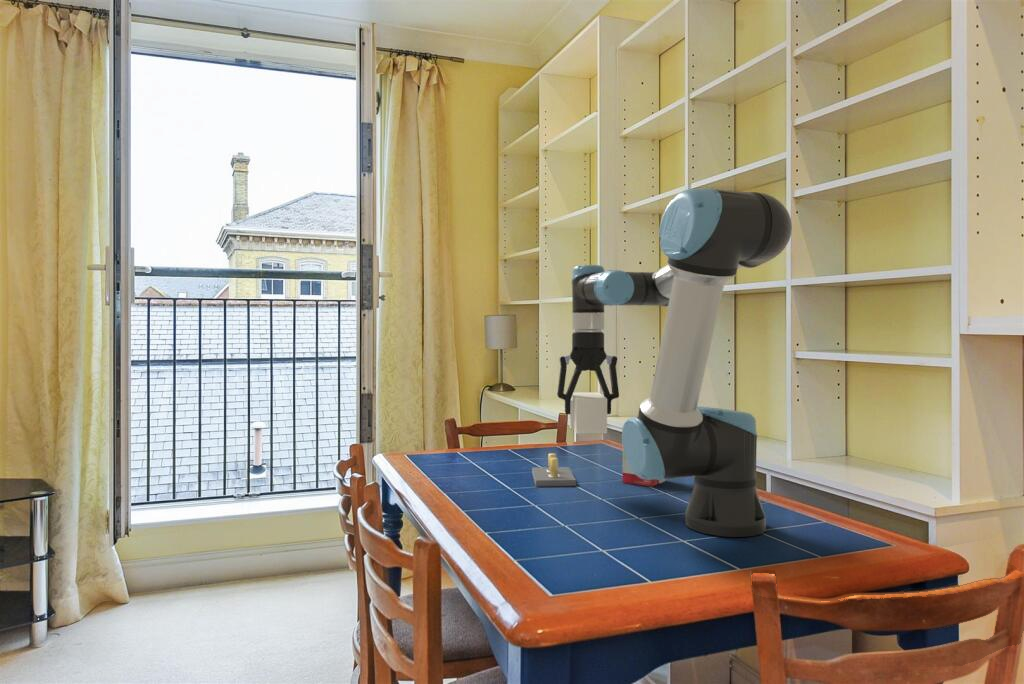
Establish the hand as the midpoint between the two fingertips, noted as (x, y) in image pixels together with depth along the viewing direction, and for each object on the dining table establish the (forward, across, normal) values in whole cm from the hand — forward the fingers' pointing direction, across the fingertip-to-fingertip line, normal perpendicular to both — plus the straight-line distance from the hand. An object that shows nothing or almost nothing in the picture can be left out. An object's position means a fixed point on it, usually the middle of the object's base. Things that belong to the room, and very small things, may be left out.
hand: (587, 427), depth 161 cm
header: (+16, +7, -15) cm, 23 cm away
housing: (0, 0, 0) cm, 0 cm away
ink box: (+16, -16, -11) cm, 25 cm away
